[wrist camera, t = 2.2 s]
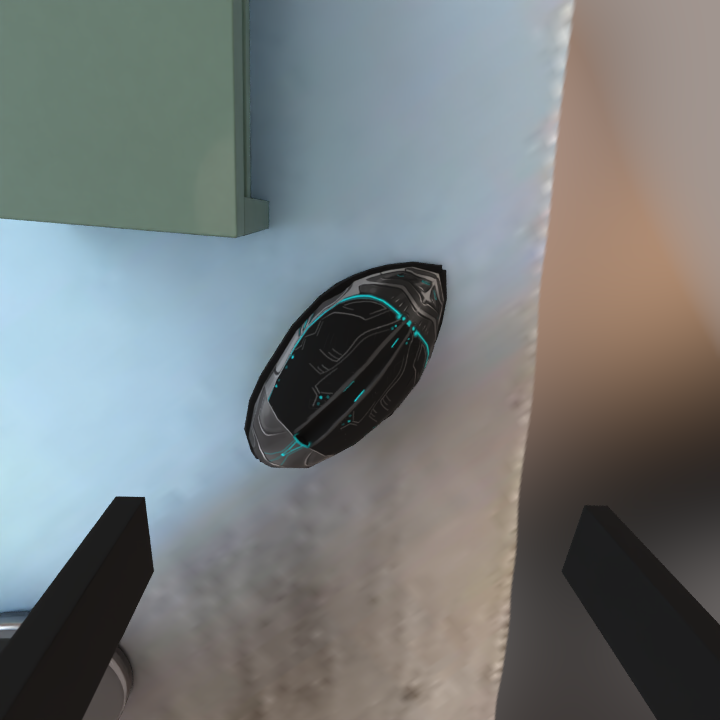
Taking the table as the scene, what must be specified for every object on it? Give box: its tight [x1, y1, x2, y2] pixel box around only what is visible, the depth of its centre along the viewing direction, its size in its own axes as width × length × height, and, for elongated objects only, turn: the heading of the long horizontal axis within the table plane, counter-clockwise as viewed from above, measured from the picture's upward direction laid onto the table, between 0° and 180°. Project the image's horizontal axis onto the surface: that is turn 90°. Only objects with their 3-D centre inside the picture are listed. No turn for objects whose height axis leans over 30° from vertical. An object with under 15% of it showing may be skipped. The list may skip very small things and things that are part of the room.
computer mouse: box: [244, 262, 447, 468], centre depth 24 cm, size 9×17×6 cm, turn 135°
